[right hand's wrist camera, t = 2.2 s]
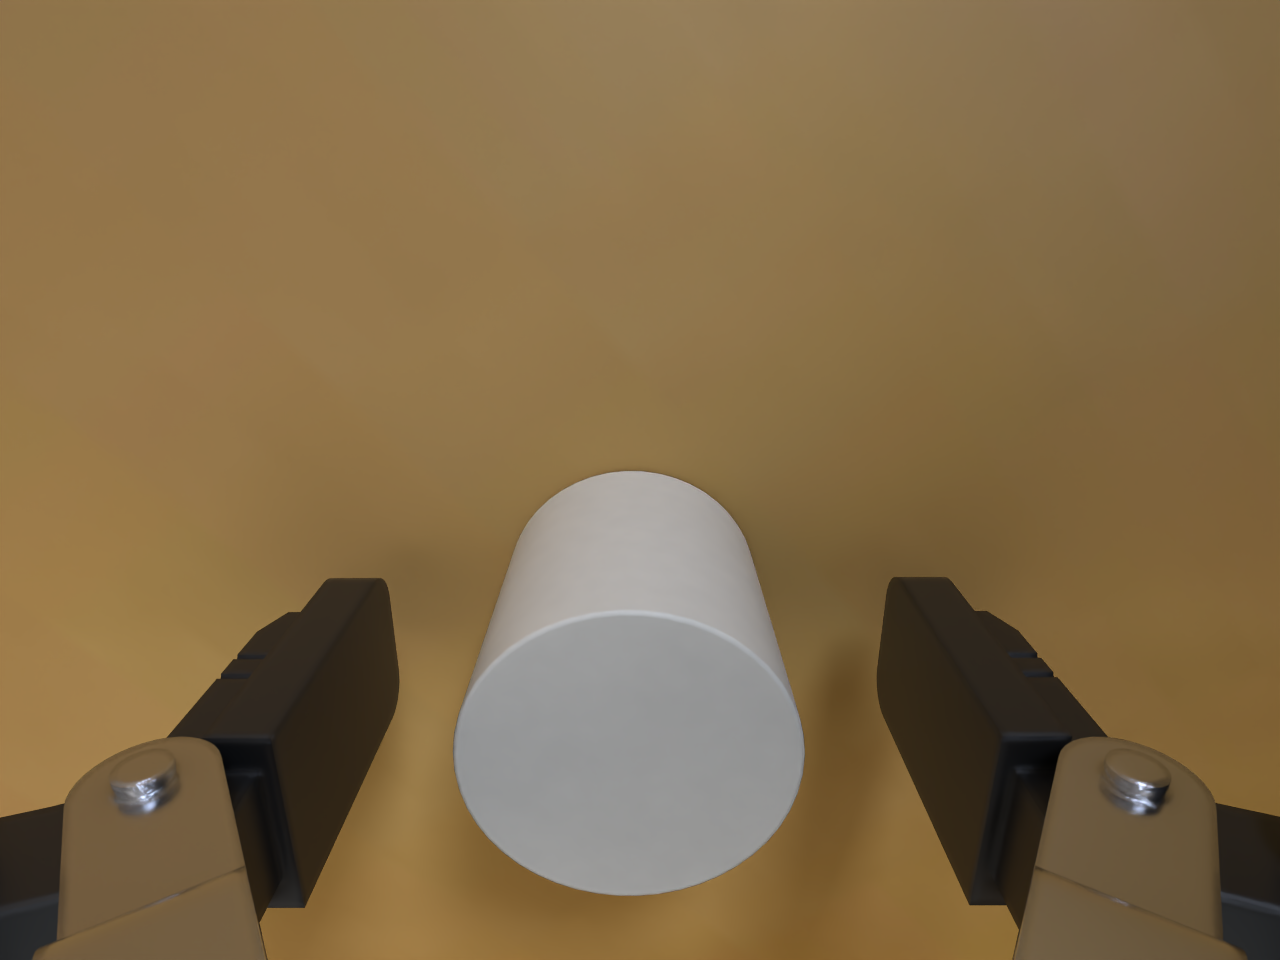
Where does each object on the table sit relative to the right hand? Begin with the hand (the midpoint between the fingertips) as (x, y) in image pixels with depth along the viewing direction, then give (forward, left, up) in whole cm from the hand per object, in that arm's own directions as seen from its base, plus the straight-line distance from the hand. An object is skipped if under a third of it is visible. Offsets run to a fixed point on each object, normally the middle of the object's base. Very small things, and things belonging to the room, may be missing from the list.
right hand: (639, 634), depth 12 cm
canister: (0, 0, -1) cm, 1 cm away
